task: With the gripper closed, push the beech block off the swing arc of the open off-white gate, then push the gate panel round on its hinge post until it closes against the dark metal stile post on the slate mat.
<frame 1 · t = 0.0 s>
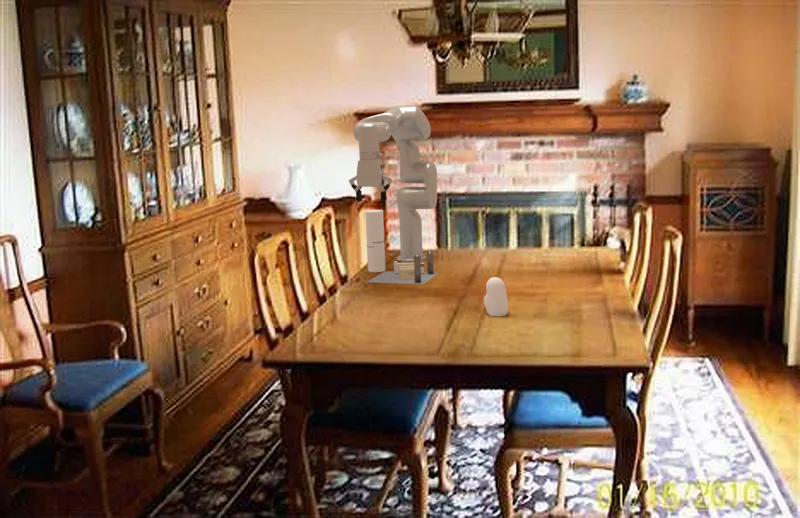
hand: (371, 201, 350), 31 cm above the table, fingers open, 9 cm apart
gate posts: (430, 273, 364), resting on slate mat
figurine: (497, 314, 300), on the table
slate mat: (403, 278, 359), on the table
block: (408, 277, 358), point 1 cm above the table, touching slate mat
gate: (409, 267, 365), point 3 cm above the table, hinge at 80.0°
cylindrical container: (376, 272, 375), on the table
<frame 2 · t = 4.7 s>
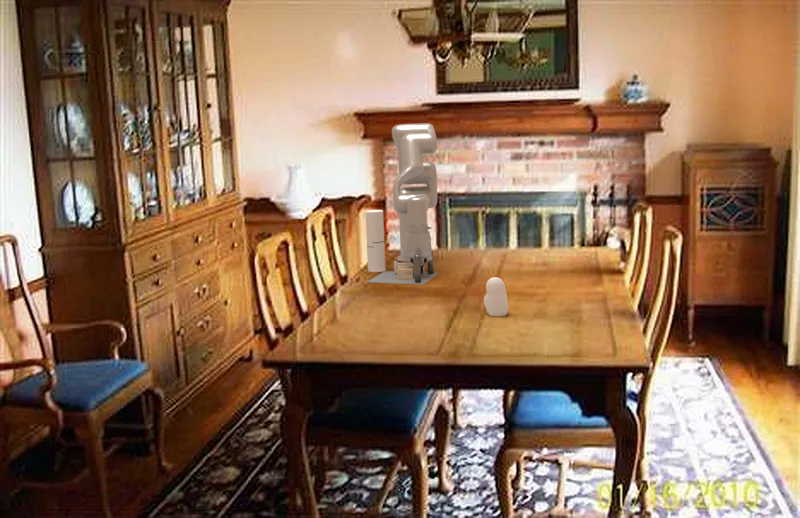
hand: (419, 275, 357), 2 cm above the table, fingers closed
block: (405, 277, 358), point 1 cm above the table, touching gripper, slate mat
everything else where it was.
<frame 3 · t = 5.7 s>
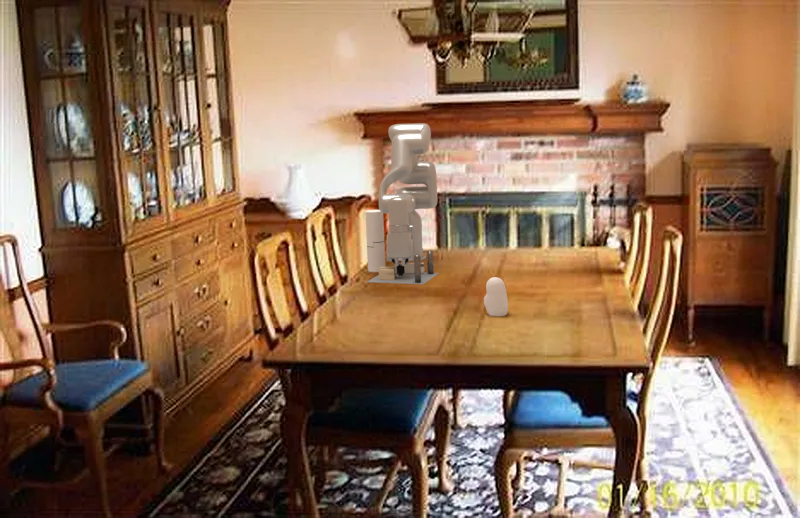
hand: (400, 275, 358), 2 cm above the table, fingers closed
block: (387, 278, 358), point 1 cm above the table
everything else where it was.
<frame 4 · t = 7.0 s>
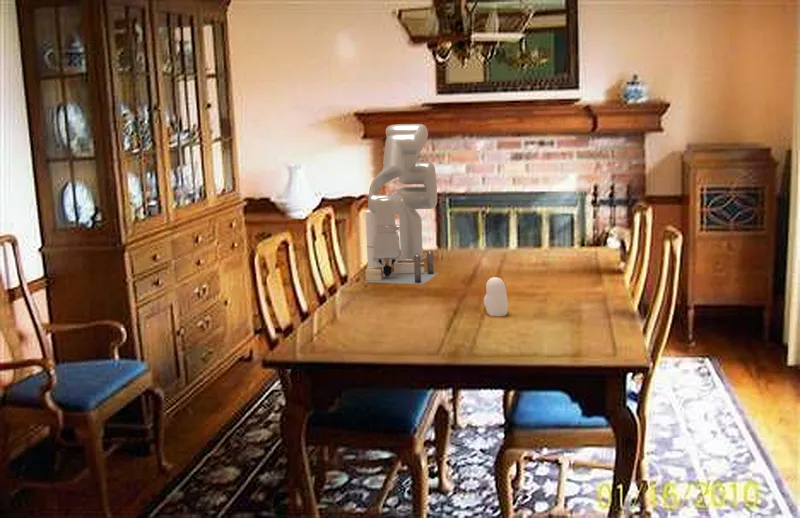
hand: (387, 275, 358), 2 cm above the table, fingers closed
block: (374, 278, 358), point 1 cm above the table, touching gripper, slate mat
everything else where it was.
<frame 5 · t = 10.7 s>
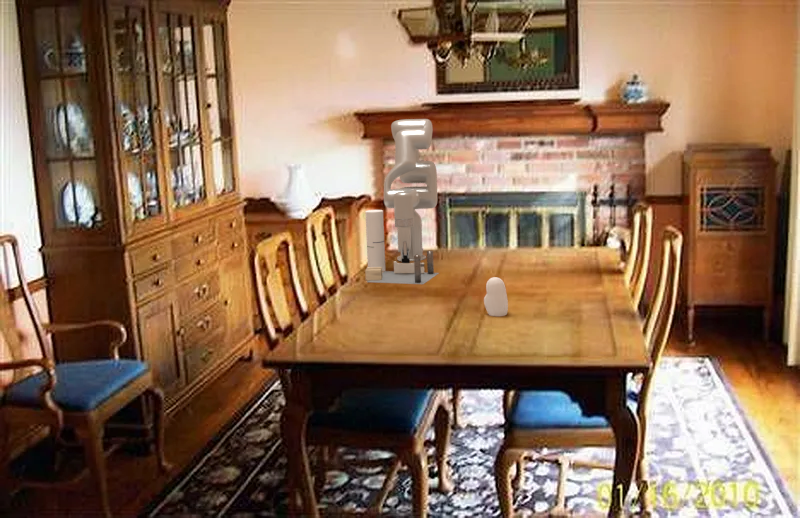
hand: (405, 268, 368), 2 cm above the table, fingers closed
block: (374, 278, 358), point 1 cm above the table, touching slate mat
gate: (409, 267, 365), point 3 cm above the table, hinge at 79.3°, touching gripper
everything else where it was.
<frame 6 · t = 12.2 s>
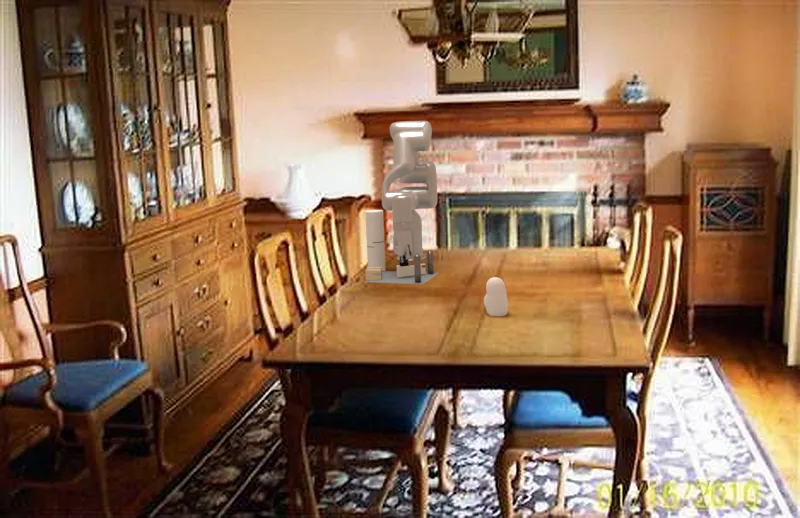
hand: (404, 271, 362), 2 cm above the table, fingers closed
gate: (411, 269, 360), point 3 cm above the table, hinge at 44.5°, touching gripper
everything else where it was.
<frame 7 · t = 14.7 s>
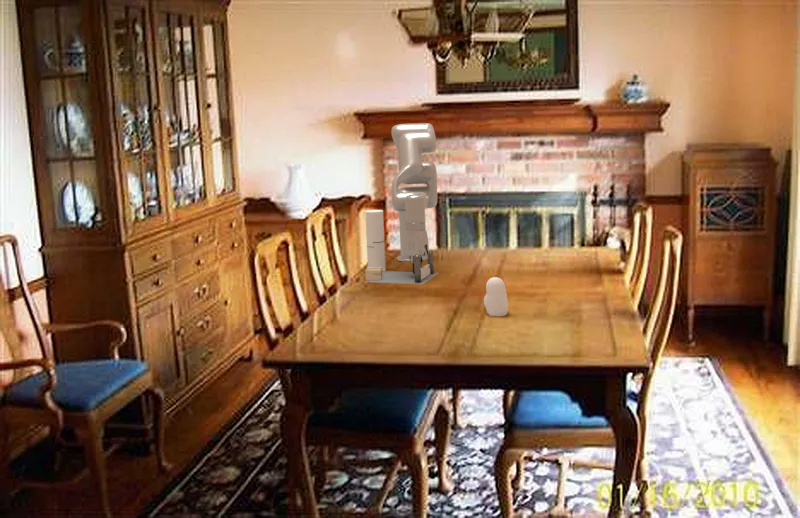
hand: (417, 273, 356), 2 cm above the table, fingers closed
gate: (423, 271, 355), point 3 cm above the table, hinge at -0.2°, touching gripper
everything else where it was.
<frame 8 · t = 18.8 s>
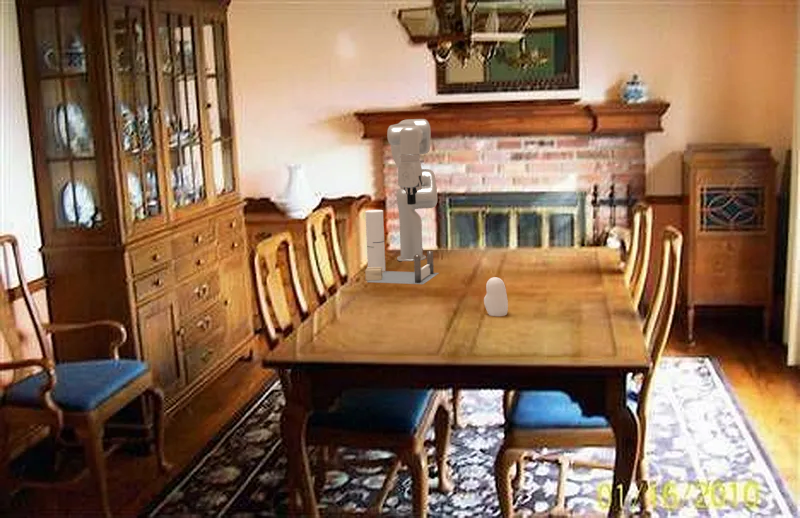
hand: (411, 204, 371), 27 cm above the table, fingers closed
gate: (423, 271, 355), point 3 cm above the table, hinge at -0.3°
everything else where it was.
at the end: gate at +0° (first picture: +80°); block inside the target area (0.3 cm from its centre), point 0.6 cm above the table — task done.
